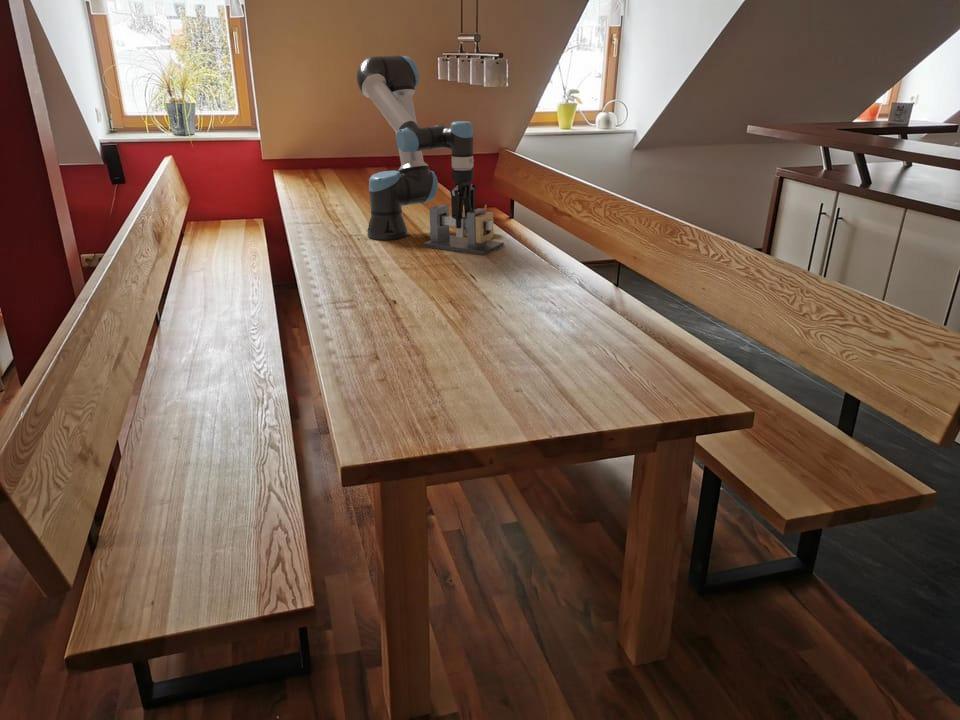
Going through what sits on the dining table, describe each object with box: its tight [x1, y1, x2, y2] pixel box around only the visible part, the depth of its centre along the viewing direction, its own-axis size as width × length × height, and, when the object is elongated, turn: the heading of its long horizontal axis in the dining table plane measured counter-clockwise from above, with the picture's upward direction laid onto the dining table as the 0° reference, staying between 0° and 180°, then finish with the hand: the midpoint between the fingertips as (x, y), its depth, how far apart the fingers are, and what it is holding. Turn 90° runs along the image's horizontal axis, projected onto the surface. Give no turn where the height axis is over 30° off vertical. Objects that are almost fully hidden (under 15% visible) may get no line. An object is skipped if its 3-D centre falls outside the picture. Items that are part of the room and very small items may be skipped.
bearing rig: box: [423, 203, 505, 256], centre depth 267 cm, size 25×14×14 cm, turn 60°
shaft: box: [440, 213, 494, 230], centre depth 266 cm, size 24×4×4 cm, turn 60°
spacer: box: [475, 211, 494, 243], centre depth 262 cm, size 2×9×9 cm, turn 150°
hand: (463, 235), depth 268 cm, fingers closed on shaft, 4 cm apart
